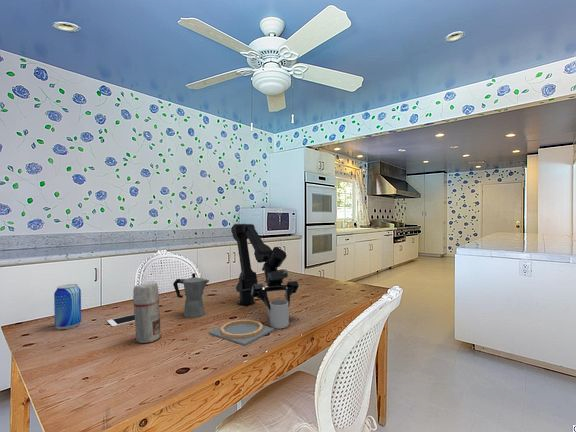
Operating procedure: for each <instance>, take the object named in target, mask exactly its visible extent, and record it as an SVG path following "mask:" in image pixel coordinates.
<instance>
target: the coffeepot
mask: <svg viewBox="0 0 576 432" xmlns="http://www.w3.org/2000/svg"><path fill="white" fill-rule="evenodd" d="M208 283H210V280H209V279H208V278H207V279H205V278H203V277H196V273H195V272H194V273H191V277H189V278H176V279H175V281H173V282H172V286H173V288H174V290H175V293H176V296H177V298H179V299H182V298H183V297H184V295H185V301H184V308H183V316H184V318H186V319H187V318H188V319H193V318H194V319H195V318H199V317H202V316H204V315H205V314H206V313H205V306H204V301H203V294H204V289H205V288H206V286H207V284H208ZM179 284H181V285H182V284H183V289H184V295H181V290H179Z"/></svg>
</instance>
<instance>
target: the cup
mask: <svg viewBox="0 0 576 432" xmlns="http://www.w3.org/2000/svg"><path fill="white" fill-rule="evenodd" d="M269 303H270V310H269V309H268V308H267V311H266V312H267V316H268V318H269V324H270V327H271V328H275V330H276V329H285V328H288V327H289V325H290V316H289V315H290V314H289V309H290V308H289V307H288V301H286V299H274V300H271V301H269Z"/></svg>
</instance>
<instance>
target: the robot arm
mask: <svg viewBox="0 0 576 432" xmlns="http://www.w3.org/2000/svg"><path fill="white" fill-rule="evenodd" d="M230 230H231V234H232V238H233V239H234V240H235V242H236V243H237V249H238V257H239V264H240V274H239V276H238V281H237V284H236V285H235V289H236V292H238V293H239V302H236V303H237V305H241V306H245V307H247V306H250V305H253V304H255V303H256V301H255V300H254V299H255V298H257V299H260V300H261V302H263V304H264V305H265V306H266V307H267V309H269V310H270V300H269V296H268V292H278V291H285V294H284V298H285V299H284V300H286V301H288V308H290V305H291V304H290V303H291V296H292V295H293V294H296V293H297V291H298V289H299V285H300V284H299V282H298V281H297V280H291V281H290V280H288V281H287V283H286V284H285V285H284V284H283V282H284V281H283V280H284V279H286V278H288V277H289V273H288V269H282V270H278V268H280V267H281V266H282V264H283V263H284V261H285V260H286V258H287V253H286V252H285V251H284V250H283V249H281V248H279V246H274V247H272V248H271V247H270V246H269V245H268V244H265V243H264V242H263V239H262V238H261V236H260V234H259V233H258V231H257V230H256V227H255V225H254V224H253V223H234V224H233V225H232V226H231V229H230ZM248 240H249V242H250V244H251V246H252V247H253V250H254V251H253V252H254V253H253V255H254V258H255V261H256V262H257V263H260V264H261V263H263V264H262V268H261V271H262V272H264V278H265V283H266V286H265V285H263V283H258V277H257V272H256V271H253V270H252V265H251V264H252V263H251V259H250V252H249V245H248Z"/></svg>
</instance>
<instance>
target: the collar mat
mask: <svg viewBox="0 0 576 432" xmlns="http://www.w3.org/2000/svg"><path fill="white" fill-rule="evenodd" d="M275 330H276V328H273V327H271V326H266V325H264V324H262V323H261V322H260V321H257V320H253V319H241V318H240V319H237V320H232V321H228V322H227V323H224V324H223V325H222V326H219V327H217V328H215V329H212V330H210V331H208V335H211V336H214V337H218V338H220V339H223V340H226V341H229V342H232V343H236V344H238V345H242V346H244V347H245V346H247V345H249V344H251V343H253V342H255V341H257V340H259V339H260V338H262V337H264V336H266V335H268V334H270V333H272V332H273V331H275Z"/></svg>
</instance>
